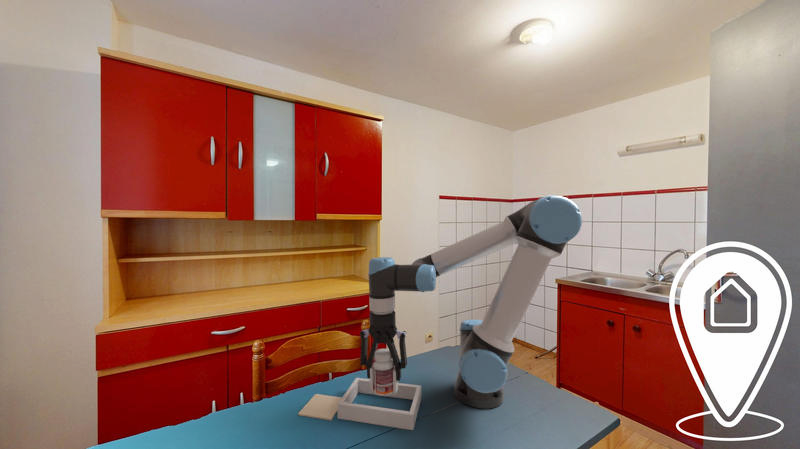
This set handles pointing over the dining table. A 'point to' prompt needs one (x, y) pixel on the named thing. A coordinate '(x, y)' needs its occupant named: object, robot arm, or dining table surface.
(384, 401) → the dining table surface
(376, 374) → the pill bottle
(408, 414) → the bin
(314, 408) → the mat
